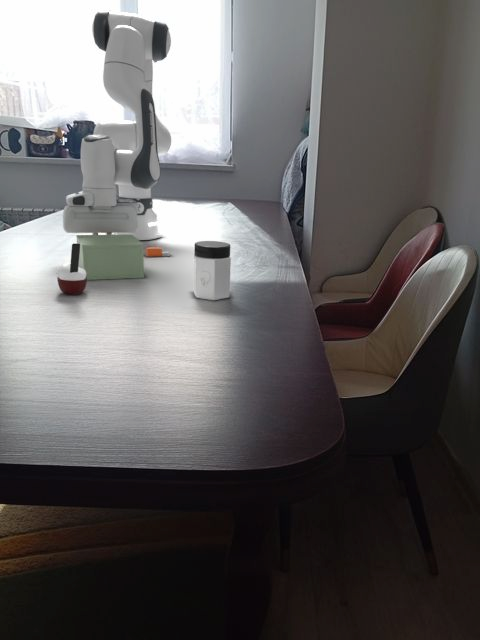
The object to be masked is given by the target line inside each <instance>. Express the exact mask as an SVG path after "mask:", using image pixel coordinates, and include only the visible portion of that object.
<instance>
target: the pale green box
mask: <svg viewBox="0 0 480 640" xmlns="http://www.w3.org/2000/svg"><path fill="white" fill-rule="evenodd" d="M75 238H76V244H77V243H79V244H80V255H79V266H78V267H80V268H82V269H85V271H86V277H87V281H95V280H117V279H118V280H119V279H122V280H123V279H142V278H145V267H144V266H145V263H144V244H143V242H141V240H138V239H137V238H135V237H134V236H133V235H106V234H98V235H92V234H76V237H75Z"/></svg>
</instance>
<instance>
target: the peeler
mask: <svg viewBox="0 0 480 640" xmlns="http://www.w3.org/2000/svg"><path fill="white" fill-rule="evenodd" d="M145 256H146V257H171V252H170V251H168V250H163V248H162V247H161V246H156V247H155V246H152V247H151V246H150V247H146V246H145Z"/></svg>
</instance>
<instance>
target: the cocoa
mask: <svg viewBox="0 0 480 640" xmlns="http://www.w3.org/2000/svg"><path fill="white" fill-rule="evenodd" d="M79 255H80V244H79V243H77V242H76V243H72V244H71V252H70V263H63V264H61V265H59V266H58V267H57V268H56V279H57V284H58V287H59V290H60V291H61V292H63V293H64V294H65V295H73V296H74V295H80V294H81V293H83V292H84V291H85V290H86V287H87V283H88V280H87V277H86V271H85V269H82V268H80V267H79Z"/></svg>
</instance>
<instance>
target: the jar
mask: <svg viewBox="0 0 480 640" xmlns="http://www.w3.org/2000/svg"><path fill="white" fill-rule="evenodd" d="M193 252H194V254H193V294H194V297H195V298H196V299H202V300H209V301H216V300H217V301H218V300H225V299H228V298H230V292H231V291H230V290H231V267H232V266H231V264H232V263H231V262H232V261H231V260H232V258H231V244H230V243H228V242H225V241H217V240H200V241H196V242H194V250H193Z"/></svg>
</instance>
